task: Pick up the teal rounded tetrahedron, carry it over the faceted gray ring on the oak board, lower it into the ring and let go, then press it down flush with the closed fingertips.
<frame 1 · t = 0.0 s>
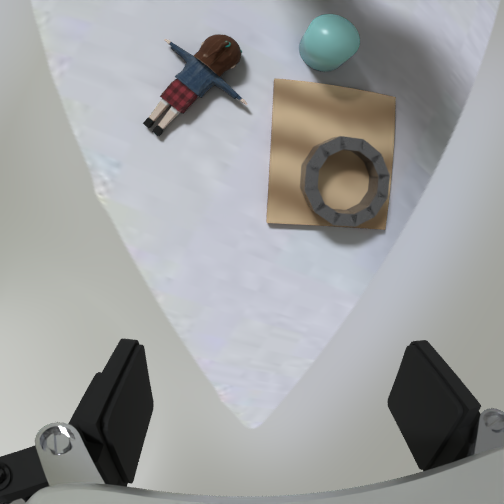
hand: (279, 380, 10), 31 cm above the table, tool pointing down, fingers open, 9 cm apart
teal rounded tetrahedron: (322, 50, 34), on the table
board: (333, 155, 38), on the table
toy: (192, 86, 35), on the table
faceted gray ring: (341, 179, 38), resting on board
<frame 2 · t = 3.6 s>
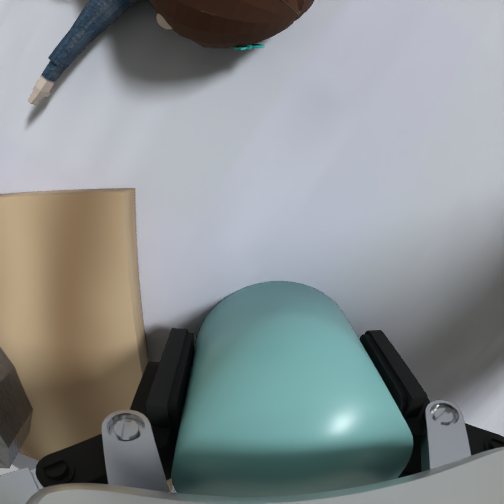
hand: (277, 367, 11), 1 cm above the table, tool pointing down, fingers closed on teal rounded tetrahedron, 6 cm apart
teal rounded tetrahedron: (274, 352, 12), on the table, touching gripper
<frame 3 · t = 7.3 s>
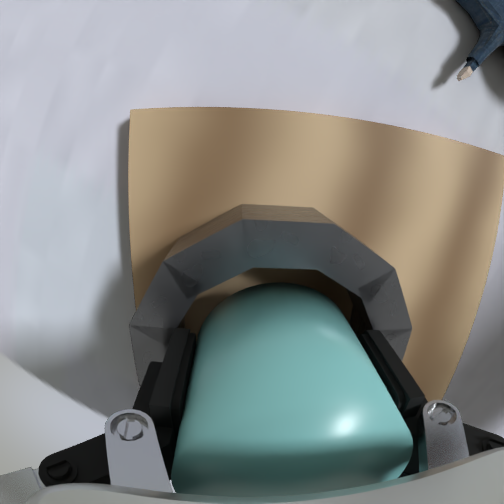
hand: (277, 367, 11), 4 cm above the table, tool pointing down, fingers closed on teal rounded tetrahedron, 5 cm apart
teal rounded tetrahedron: (274, 354, 12), point 3 cm above the table, touching gripper
board: (331, 295, 15), on the table
faceted gray ring: (269, 324, 14), resting on board
when the fingers open (4 cm above the table, at t = 7.6 s): teal rounded tetrahedron drops 2 cm, resting on board.
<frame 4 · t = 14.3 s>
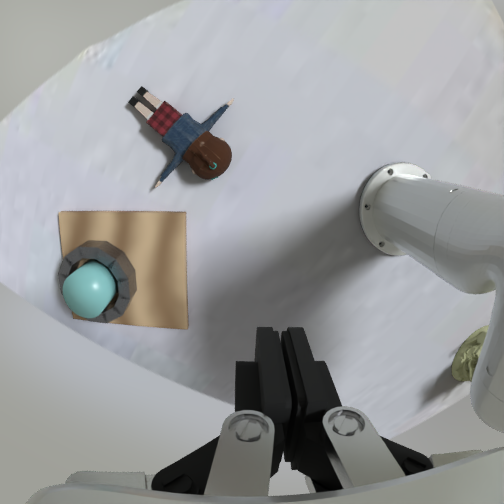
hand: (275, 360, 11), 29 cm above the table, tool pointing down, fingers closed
figurine: (476, 354, 49), on the table
teal rounded tetrahedron: (101, 277, 40), point 1 cm above the table, touching board
board: (122, 269, 41), on the table
toy: (180, 131, 36), on the table
faceted gray ring: (101, 277, 40), resting on board
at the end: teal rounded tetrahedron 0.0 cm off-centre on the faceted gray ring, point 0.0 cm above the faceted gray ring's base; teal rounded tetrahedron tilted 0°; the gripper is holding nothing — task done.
